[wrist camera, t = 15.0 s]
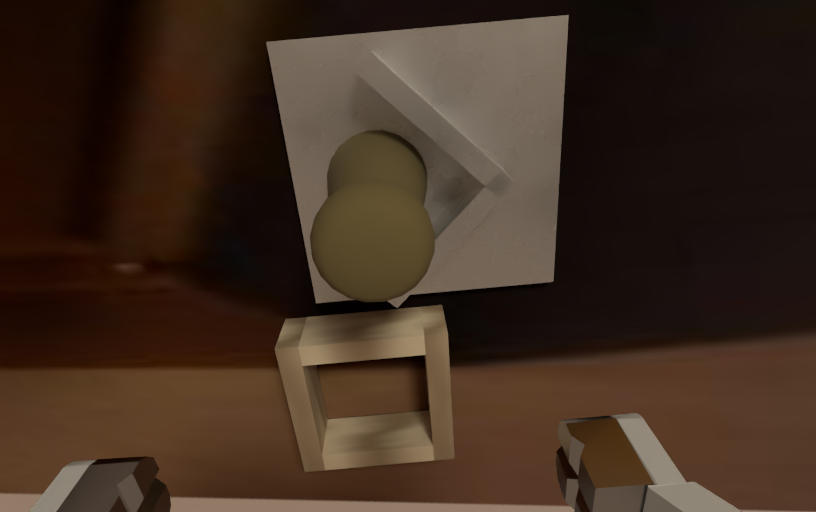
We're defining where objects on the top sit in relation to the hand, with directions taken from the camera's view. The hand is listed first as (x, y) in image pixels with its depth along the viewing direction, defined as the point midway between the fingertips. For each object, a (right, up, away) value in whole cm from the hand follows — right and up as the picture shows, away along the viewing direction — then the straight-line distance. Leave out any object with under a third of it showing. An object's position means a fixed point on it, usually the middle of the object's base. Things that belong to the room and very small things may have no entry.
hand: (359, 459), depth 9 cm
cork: (-1, +9, +19) cm, 21 cm away
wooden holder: (-2, -5, +26) cm, 26 cm away
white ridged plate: (+2, +9, +19) cm, 22 cm away
